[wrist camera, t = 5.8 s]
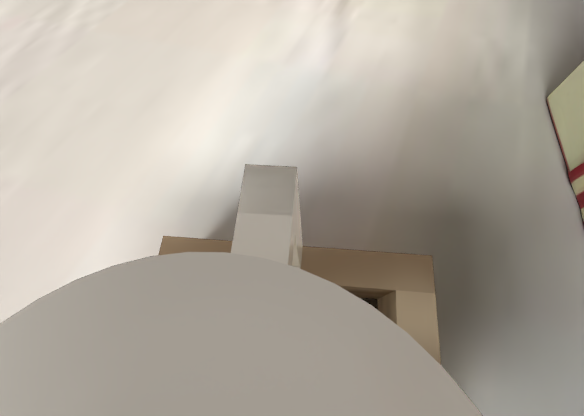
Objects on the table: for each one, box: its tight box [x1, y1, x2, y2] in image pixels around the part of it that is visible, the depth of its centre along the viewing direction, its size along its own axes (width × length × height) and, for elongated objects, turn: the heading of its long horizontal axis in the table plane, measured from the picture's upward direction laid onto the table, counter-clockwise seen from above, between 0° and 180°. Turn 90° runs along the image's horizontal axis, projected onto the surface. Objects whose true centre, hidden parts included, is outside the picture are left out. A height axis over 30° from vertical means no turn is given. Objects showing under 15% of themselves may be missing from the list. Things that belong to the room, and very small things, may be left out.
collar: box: [159, 236, 441, 365], centre depth 12 cm, size 11×11×4 cm
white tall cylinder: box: [0, 164, 482, 416], centre depth 8 cm, size 8×6×13 cm
